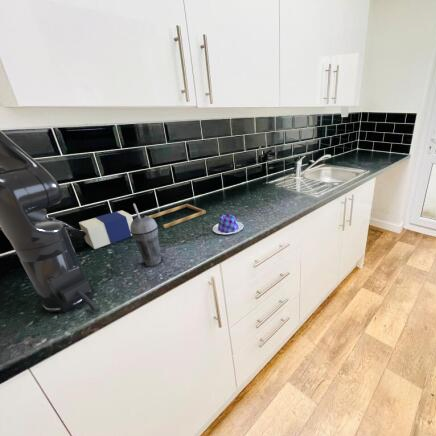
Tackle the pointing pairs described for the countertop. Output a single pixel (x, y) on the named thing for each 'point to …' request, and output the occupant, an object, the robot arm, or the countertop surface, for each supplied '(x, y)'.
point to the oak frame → (181, 218)
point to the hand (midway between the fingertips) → (84, 235)
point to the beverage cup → (146, 238)
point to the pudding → (227, 225)
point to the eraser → (107, 228)
